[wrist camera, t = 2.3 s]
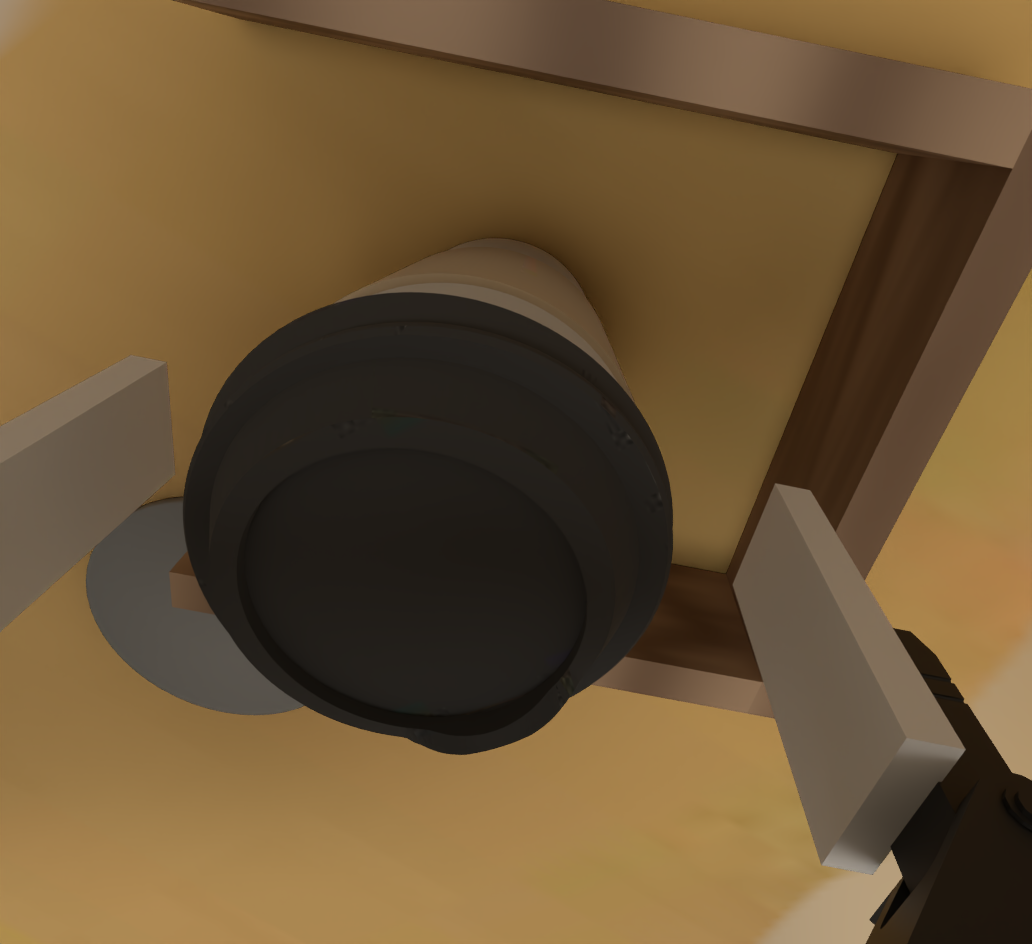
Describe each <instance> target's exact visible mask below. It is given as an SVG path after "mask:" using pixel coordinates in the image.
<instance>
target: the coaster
mask: <svg viewBox="0 0 1032 944" xmlns="http://www.w3.org/2000/svg"><path fill="white" fill-rule="evenodd" d="M183 498H184V497H176V498H167V499H163V500H159V501H155V502H151V503H149V504H146V505H144V506H141V507H139V508H137V509H136V510H135V511H134V512H133V513H132V514H131V515H130V516H129V517H127V518H126V519H125V520H124V521H123V522H122V523H121V524H120V525H119V526H117V527H116V528H115V529H114V530H113V531H112V532H111V533H110V534H109V535H107V536H106V537H105V538H104V539H103V540H102V541H101V542H100V543H98V544H97V545H96V546H95V548H94V550H93V552H92V554H91V556H90V560H89V563H88V567H87V575H86V588H87V597H88V601H89V605H90V609H91V611H92V614H93V616H94V619H95V621H96V623H97V625H98V627H99V629H100V630H101V632H102V634H103V636H104V637H105V638H106V640H107V641H108V643H109V644H110V645H111V647H112V648H113V649H114V650H115V651H116V652H117V654H118V655H119V656H120V657H121V658H122V659H123V660H124V661H125V662H126V663H127V664H128V665H129V666H130V667H132V668H133V669H134V670H135V671H136V672H137V673H139V674H140V675H141V676H143V677H144V678H145V679H147V680H148V681H150V682H151V683H153V684H154V685H156V686H157V687H159V688H161V689H162V690H164V691H166V692H168V693H170V694H172V695H174V696H176V697H178V698H180V699H183V700H185V701H187V702H190V703H192V704H195V705H198V706H202V707H205V708H208V709H212V710H216V711H221V712H226V713H233V714H241V715H268V714H276V713H282V712H287V711H290V710H294V709H298V708H300V707H303V706H305V705H303V704H301V703H299V702H298V701H296V700H295V699H293V698H291V697H290V696H288V695H287V694H285V693H284V692H283V691H281V690H280V689H279V688H277V687H276V686H275V685H274V684H272V683H271V682H270V681H269V680H268V679H266V678H265V677H264V676H263V675H262V674H261V673H260V672H259V671H258V670H257V669H256V668H255V667H254V666H253V665H252V664H251V663H250V662H249V661H248V659H247V658H246V657H245V656H244V654H243V653H242V652H241V651H240V650H239V648H238V647H237V645H236V644H235V642H234V641H233V639H232V638H231V636H230V634H229V633H228V632H227V631H226V629H225V628H224V627H223V625H222V624H221V623H220V621H219V620H218V619H217V617H216V615H213V614H208V613H202V612H197V611H192V610H186V609H181V608H175V607H172V599H171V588H170V576H169V571H170V570H171V569H172V568H173V567H174V566H175V565H176V563H177V562H178V561H179V560H180V559H181V558H182V556H183V555H184V554H185V553H186V552H187V547H186V542H185V535H184V527H183Z"/></svg>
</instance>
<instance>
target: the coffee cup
mask: <svg viewBox="0 0 1032 944" xmlns="http://www.w3.org/2000/svg"><path fill="white" fill-rule="evenodd" d="M183 527H184V535H185V542H186V547H187V551H188V555H189V559H190V562H191V565H192V568H193V571H194V574H195V576H196V579H197V581H198V584H199V586H200V589H201V591H202V593H203V595H204V597H205V599H206V600H207V602H208V604H209V606H210V608H211V609H212V611H213V612H214V614H215V615H216V617H217V619H218V620H219V621H220V623H221V624H222V625H223V627H224V628H225V629H226V631H227V632H228V633H229V634H230V636H231V638H232V639H233V641H234V642H235V644H236V645H237V647H238V648H239V650H240V651H241V652H242V653H243V654H244V656H245V657H246V658H247V659H248V661H249V662H250V663H251V664H252V665H253V666H254V667H255V668H256V669H257V670H258V671H259V672H260V673H261V674H262V675H263V676H264V677H265V678H266V679H268V680H269V681H270V682H271V683H272V684H274V685H275V686H276V687H277V688H279V689H280V690H281V691H283V692H284V693H285V694H287V695H288V696H290V697H291V698H293V699H295V700H296V701H298V702H299V703H301V704H303V705H305V706H306V707H308V708H310V709H312V710H314V711H316V712H318V713H320V714H322V715H324V716H326V717H329V718H331V719H334V720H336V721H339V722H341V723H344V724H347V725H350V726H353V727H357V728H360V729H363V730H367V731H372V732H376V733H381V734H386V735H392V736H399V737H404V738H408V739H410V740H411V741H413V742H415V743H418V744H421V745H423V746H425V747H427V748H429V749H432V750H434V751H437V752H441V753H446V754H456V755H467V754H473V753H478V752H483V751H487V750H491V749H495V748H498V747H502V746H505V745H508V744H510V743H513V742H516V741H518V740H521V739H523V738H525V737H527V736H530V735H532V734H533V733H535V732H536V731H538V730H539V729H541V728H542V727H543V726H544V725H546V724H547V723H548V722H549V721H550V720H551V719H552V718H553V717H554V716H555V715H556V714H557V713H558V712H559V711H560V709H561V708H562V707H563V705H564V704H565V703H566V701H567V700H568V698H570V697H572V696H574V695H575V694H577V693H579V692H581V691H582V690H584V689H585V688H587V687H589V686H590V685H592V684H593V683H594V682H596V681H597V680H599V679H600V678H601V677H603V676H604V675H605V674H606V673H608V672H609V671H610V670H611V669H612V668H613V667H615V666H616V665H617V664H618V663H619V662H620V661H621V660H622V659H623V658H624V657H625V656H626V655H627V654H628V653H629V651H630V650H631V649H632V648H633V647H634V646H635V644H636V643H637V642H638V641H639V639H640V638H641V636H642V635H643V634H644V632H645V631H646V629H647V628H648V626H649V624H650V623H651V621H652V619H653V617H654V615H655V613H656V611H657V609H658V607H659V605H660V602H661V600H662V597H663V594H664V592H665V588H666V585H667V581H668V578H669V573H670V568H671V561H672V550H673V530H672V527H673V509H672V497H671V490H670V484H669V479H668V475H667V471H666V467H665V464H664V461H663V458H662V455H661V452H660V450H659V447H658V445H657V442H656V440H655V438H654V436H653V434H652V432H651V430H650V428H649V426H648V424H647V422H646V421H645V419H644V417H643V416H642V414H641V412H640V411H639V409H638V408H637V406H636V405H635V402H634V399H633V397H632V394H631V392H630V390H629V387H628V385H627V383H626V380H625V378H624V376H623V373H622V371H621V369H620V366H619V364H618V361H617V359H616V357H615V354H614V352H613V350H612V347H611V345H610V343H609V340H608V338H607V336H606V333H605V331H604V328H603V326H602V324H601V322H600V320H599V318H598V316H597V314H596V312H595V310H594V309H593V307H592V306H591V304H590V303H589V301H588V300H587V299H586V297H585V295H584V292H583V291H582V289H581V287H580V285H579V284H578V282H577V281H576V279H575V278H574V276H573V275H572V274H571V273H570V272H569V271H568V269H567V268H566V267H565V266H564V265H563V264H561V263H560V262H559V261H558V260H557V259H555V258H554V257H553V256H551V255H550V254H548V253H547V252H545V251H543V250H541V249H539V248H537V247H535V246H533V245H530V244H527V243H524V242H521V241H516V240H511V239H503V238H488V239H479V240H474V241H470V242H466V243H463V244H460V245H458V246H455V247H453V248H451V249H449V250H447V251H444V252H440V253H437V254H434V255H432V256H429V257H427V258H424V259H422V260H420V261H418V262H416V263H414V264H412V265H410V266H408V267H405V268H403V269H401V270H399V271H397V272H395V273H393V274H391V275H389V276H386V277H384V278H382V279H380V280H378V281H376V282H374V283H372V284H370V285H368V286H365V287H363V288H361V289H359V290H357V291H355V292H353V293H351V294H349V295H347V296H345V297H343V298H341V299H340V300H338V301H336V302H335V303H333V304H331V305H328V306H326V307H323V308H320V309H318V310H315V311H313V312H310V313H308V314H306V315H304V316H302V317H300V318H298V319H296V320H294V321H292V322H291V323H289V324H287V325H286V326H284V327H282V328H281V329H279V330H277V331H276V332H275V333H273V334H272V335H271V336H269V337H268V338H266V339H265V340H264V341H262V342H261V343H260V344H259V345H258V346H257V347H256V348H255V349H253V350H252V351H251V352H250V353H249V354H248V355H247V356H246V357H245V358H244V359H243V361H242V362H241V363H240V364H239V365H238V366H237V367H236V368H235V370H234V371H233V372H232V374H231V375H230V376H229V378H228V379H227V380H226V382H225V384H224V385H223V387H222V389H221V390H220V392H219V393H218V395H217V397H216V399H215V401H214V403H213V405H212V407H211V410H210V412H209V415H208V418H207V420H206V423H205V426H204V430H203V433H202V437H201V439H200V441H199V443H198V445H197V447H196V450H195V452H194V455H193V457H192V460H191V463H190V466H189V470H188V474H187V478H186V483H185V489H184V498H183Z"/></svg>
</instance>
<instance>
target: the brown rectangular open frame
mask: <svg viewBox="0 0 1032 944" xmlns="http://www.w3.org/2000/svg"><path fill="white" fill-rule="evenodd" d="M173 1H177V2H180V3H184V4H188V5H191V6H195V7H198V8H202V9H206V10H209V11H213V12H216V13H220V14H224V15H227V16H231V17H235V18H238V19H243V20H248V21H253V22H258V23H262V24H267V25H272V26H277V27H282V28H287V29H292V30H297V31H302V32H306V33H311V34H316V35H321V36H326V37H331V38H336V39H341V40H346V41H350V42H355V43H360V44H365V45H370V46H375V47H380V48H385V49H390V50H394V51H399V52H404V53H409V54H414V55H419V56H424V57H429V58H434V59H438V60H443V61H448V62H453V63H458V64H463V65H468V66H473V67H478V68H482V69H487V70H492V71H497V72H502V73H507V74H512V75H517V76H522V77H526V78H531V79H536V80H541V81H546V82H551V83H556V84H561V85H566V86H570V87H575V88H580V89H585V90H590V91H595V92H600V93H605V94H610V95H614V96H619V97H624V98H629V99H634V100H639V101H644V102H649V103H654V104H659V105H663V106H668V107H673V108H678V109H683V110H688V111H693V112H698V113H703V114H707V115H712V116H717V117H722V118H727V119H732V120H737V121H742V122H747V123H751V124H756V125H761V126H766V127H771V128H776V129H781V130H786V131H791V132H795V133H800V134H805V135H810V136H815V137H820V138H825V139H830V140H835V141H839V142H844V143H849V144H854V145H859V146H864V147H869V148H874V149H879V150H883V151H888V152H893V153H898V155H897V157H896V160H895V162H894V164H893V167H892V169H891V172H890V174H889V177H888V179H887V182H886V184H885V186H884V189H883V191H882V194H881V196H880V199H879V201H878V204H877V206H876V208H875V211H874V213H873V216H872V218H871V221H870V223H869V226H868V228H867V231H866V233H865V235H864V238H863V240H862V243H861V245H860V248H859V250H858V253H857V255H856V257H855V260H854V262H853V265H852V267H851V270H850V272H849V275H848V277H847V279H846V282H845V284H844V287H843V289H842V292H841V294H840V297H839V299H838V301H837V304H836V306H835V309H834V311H833V314H832V316H831V319H830V321H829V324H828V326H827V328H826V331H825V333H824V336H823V338H822V341H821V343H820V346H819V348H818V350H817V353H816V355H815V358H814V360H813V363H812V365H811V368H810V370H809V372H808V375H807V377H806V380H805V382H804V385H803V387H802V390H801V392H800V394H799V397H798V399H797V402H796V404H795V407H794V409H793V412H792V414H791V417H790V419H789V421H788V424H787V426H786V429H785V431H784V434H783V436H782V439H781V441H780V443H779V446H778V448H777V451H776V453H775V456H774V458H773V461H772V463H771V465H770V468H769V470H768V473H767V475H766V478H765V480H764V483H763V485H762V487H761V490H760V492H759V495H758V497H757V500H756V502H755V505H754V507H753V510H752V512H751V514H750V517H749V519H748V522H747V524H746V527H745V529H744V532H743V534H742V536H741V539H740V541H739V544H738V546H737V549H736V551H735V554H734V556H733V558H732V561H731V563H730V566H729V568H728V571H727V573H726V574H722V573H716V572H711V571H706V570H701V569H695V568H690V567H685V566H680V565H674V564H671V568H670V573H669V578H668V581H667V585H666V588H665V592H664V594H663V597H662V600H661V602H660V605H659V607H658V609H657V611H656V613H655V615H654V617H653V619H652V621H651V623H650V624H649V626H648V628H647V629H646V631H645V632H644V634H643V635H642V636H641V638H640V639H639V641H638V642H637V643H636V644H635V646H634V647H633V648H632V649H631V650H630V651H629V653H628V654H627V655H626V656H625V657H624V658H623V659H622V660H621V661H620V662H619V663H618V664H617V665H616V666H615V667H613V668H612V669H611V670H610V671H609V672H608V673H606V674H605V675H604V676H603V677H601V678H600V679H599V680H597V681H596V682H594V683H593V684H592V685H596V686H602V687H607V688H613V689H618V690H623V691H629V692H634V693H640V694H645V695H650V696H656V697H661V698H667V699H672V700H677V701H683V702H688V703H694V704H699V705H704V706H710V707H715V708H721V709H726V710H731V711H737V712H742V713H748V714H753V715H758V716H764V717H769V718H774V719H775V717H774V714H773V711H772V707H771V704H770V701H769V698H768V695H767V692H766V688H765V685H764V682H763V679H762V676H761V673H760V670H759V666H758V663H757V660H756V657H755V654H754V651H753V647H752V644H751V641H750V638H749V635H748V632H747V629H746V625H745V622H744V619H743V616H742V613H741V610H740V606H739V603H738V600H737V597H736V594H735V591H734V588H733V582H734V580H735V578H736V575H737V573H738V570H739V568H740V566H741V563H742V561H743V559H744V556H745V554H746V551H747V549H748V547H749V544H750V542H751V540H752V537H753V535H754V532H755V530H756V528H757V525H758V523H759V521H760V518H761V516H762V513H763V511H764V509H765V506H766V504H767V502H768V499H769V497H770V494H771V492H772V490H773V487H774V485H775V483H776V484H781V485H786V486H791V487H796V488H801V489H806V490H810V491H811V492H812V494H813V496H814V497H815V499H816V501H817V502H818V504H819V506H820V507H821V509H822V511H823V512H824V514H825V516H826V517H827V519H828V521H829V522H830V524H831V526H832V527H833V529H834V531H835V532H836V534H837V536H838V537H839V539H840V541H841V542H842V544H843V546H844V547H845V549H846V551H847V552H848V554H849V556H850V557H851V559H852V561H853V562H854V564H855V566H856V567H857V569H858V571H859V572H860V574H861V576H862V577H863V579H864V581H865V579H866V577H867V575H868V573H869V571H870V569H871V568H872V566H873V564H874V562H875V560H876V558H877V556H878V555H879V553H880V551H881V549H882V547H883V545H884V543H885V541H886V540H887V538H888V536H889V534H890V532H891V530H892V528H893V526H894V525H895V523H896V521H897V519H898V517H899V515H900V513H901V511H902V510H903V508H904V506H905V504H906V502H907V500H908V498H909V497H910V495H911V493H912V491H913V489H914V487H915V485H916V483H917V482H918V480H919V478H920V476H921V474H922V472H923V470H924V468H925V467H926V465H927V463H928V461H929V459H930V457H931V455H932V453H933V452H934V450H935V448H936V446H937V444H938V442H939V440H940V439H941V437H942V435H943V433H944V431H945V429H946V427H947V425H948V424H949V422H950V420H951V418H952V416H953V414H954V412H955V410H956V409H957V407H958V405H959V403H960V401H961V399H962V397H963V395H964V394H965V392H966V390H967V388H968V386H969V384H970V382H971V381H972V379H973V377H974V375H975V373H976V371H977V369H978V367H979V366H980V364H981V362H982V360H983V358H984V356H985V354H986V352H987V351H988V349H989V347H990V345H991V343H992V341H993V339H994V337H995V336H996V334H997V332H998V330H999V328H1000V326H1001V324H1002V323H1003V321H1004V319H1005V317H1006V315H1007V313H1008V311H1009V309H1010V308H1011V306H1012V304H1013V302H1014V300H1015V298H1016V296H1017V294H1018V293H1019V291H1020V289H1021V287H1022V285H1023V283H1024V281H1025V279H1026V278H1027V276H1028V274H1029V272H1030V270H1031V268H1032V89H1030V88H1025V87H1021V86H1016V85H1011V84H1006V83H1001V82H997V81H992V80H987V79H982V78H977V77H972V76H968V75H963V74H958V73H953V72H948V71H944V70H939V69H934V68H929V67H924V66H919V65H915V64H910V63H905V62H900V61H895V60H891V59H886V58H881V57H876V56H871V55H866V54H862V53H857V52H852V51H847V50H842V49H838V48H833V47H828V46H823V45H818V44H813V43H809V42H804V41H799V40H794V39H789V38H785V37H780V36H775V35H770V34H765V33H760V32H756V31H751V30H746V29H741V28H736V27H732V26H727V25H722V24H717V23H712V22H707V21H703V20H698V19H693V18H688V17H683V16H679V15H674V14H669V13H664V12H659V11H654V10H650V9H645V8H640V7H635V6H630V5H626V4H621V3H616V2H611V1H606V0H173ZM169 576H170V588H171V599H172V607H175V608H181V609H186V610H192V611H197V612H202V613H208V614H213V615H215V614H214V612H213V611H212V609H211V608H210V606H209V604H208V602H207V600H206V599H205V597H204V595H203V593H202V591H201V589H200V586H199V584H198V581H197V579H196V576H195V574H194V571H193V568H192V565H191V562H190V559H189V555H188V551H187V552H186V553H185V554H184V555H183V556H182V558H181V559H180V560H179V561H178V562H177V563H176V565H175V566H174V567H173V568H172V569H171V570H170V571H169Z"/></svg>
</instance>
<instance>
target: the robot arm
mask: <svg viewBox="0 0 1032 944" xmlns="http://www.w3.org/2000/svg"><path fill="white" fill-rule="evenodd" d="M174 475H175V463H174V450H173V437H172V424H171V411H170V398H169V385H168V372H167V362H164V361H159V360H154V359H149V358H144V357H139V356H133V355H130V356H128V357H126V358H125V359H123V360H121V361H119V362H117V363H115V364H114V365H112V366H110V367H108V368H106V369H104V370H103V371H101V372H99V373H97V374H95V375H93V376H92V377H90V378H88V379H86V380H84V381H82V382H81V383H79V384H77V385H75V386H73V387H71V388H70V389H68V390H66V391H64V392H62V393H60V394H59V395H57V396H55V397H53V398H51V399H49V400H48V401H46V402H44V403H42V404H40V405H38V406H37V407H35V408H33V409H31V410H29V411H27V412H26V413H24V414H22V415H20V416H18V417H16V418H15V419H13V420H11V421H9V422H7V423H5V424H4V425H2V426H0V632H1V631H2V630H3V629H4V628H5V627H6V626H7V625H8V624H10V623H11V622H12V621H13V620H14V619H15V618H16V617H17V616H18V615H20V614H21V613H22V612H23V611H24V610H25V609H26V608H27V607H28V606H30V605H31V604H32V603H33V602H34V601H35V600H36V599H37V598H38V597H40V596H41V595H42V594H43V593H44V592H45V591H46V590H47V589H48V588H50V587H51V586H52V585H53V584H54V583H55V582H56V581H57V580H58V579H60V578H61V577H62V576H63V575H64V574H65V573H66V572H67V571H68V570H70V569H71V568H72V567H73V566H74V565H75V564H76V563H77V562H78V561H80V560H81V559H82V558H83V557H84V556H85V555H86V554H87V553H88V552H90V551H91V550H92V549H93V548H94V547H95V546H96V545H97V544H98V543H100V542H101V541H102V540H103V539H104V538H105V537H106V536H107V535H109V534H110V533H111V532H112V531H113V530H114V529H115V528H116V527H117V526H119V525H120V524H121V523H122V522H123V521H124V520H125V519H126V518H127V517H129V516H130V515H131V514H132V513H133V512H134V511H135V510H136V509H137V508H139V507H140V506H141V505H142V504H143V503H144V502H145V501H146V500H147V499H149V498H150V497H151V496H152V495H153V494H154V493H155V492H156V491H157V490H159V489H160V488H161V487H162V486H163V485H164V484H165V483H166V482H167V481H169V480H170V479H171V478H172V477H173V476H174ZM733 588H734V591H735V594H736V597H737V600H738V603H739V606H740V610H741V613H742V616H743V619H744V622H745V625H746V629H747V632H748V635H749V638H750V641H751V644H752V647H753V651H754V654H755V657H756V660H757V663H758V666H759V670H760V673H761V676H762V679H763V682H764V685H765V688H766V692H767V695H768V698H769V701H770V704H771V707H772V711H773V714H774V717H775V720H776V723H777V726H778V729H779V733H780V736H781V739H782V742H783V745H784V748H785V752H786V755H787V758H788V761H789V764H790V767H791V770H792V774H793V777H794V780H795V783H796V786H797V789H798V793H799V796H800V799H801V802H802V805H803V808H804V812H805V815H806V818H807V821H808V824H809V827H810V830H811V834H812V837H813V840H814V843H815V846H816V849H817V853H818V856H819V859H820V862H821V865H824V866H829V867H834V868H839V869H845V870H850V871H855V872H860V873H865V874H870V875H873V874H874V872H875V871H876V870H877V868H878V867H879V866H880V864H881V863H882V862H883V860H884V859H885V858H886V856H887V855H888V854H889V852H890V851H891V850H892V852H893V854H894V856H895V859H896V861H897V864H898V866H899V868H900V871H901V873H902V876H903V877H902V879H901V880H900V881H899V883H898V884H897V885H896V887H895V888H894V889H893V890H892V891H891V893H890V894H889V895H888V897H887V898H886V899H885V900H884V902H883V903H882V904H881V905H880V907H879V908H878V909H877V911H876V912H875V913H874V915H873V916H872V917H871V918H870V921H871V922H872V923H873V924H875V926H874V928H873V930H872V932H871V934H870V936H869V938H868V940H867V943H866V944H1032V781H1031V780H1030V779H1028V778H1026V777H1024V776H1022V775H1018V774H1014V773H1012V772H1011V771H1010V769H1009V767H1008V766H1007V764H1006V763H1005V761H1004V760H1003V758H1002V757H1001V755H1000V754H999V752H998V750H997V749H996V747H995V746H994V744H993V743H992V741H991V740H990V738H989V737H988V735H987V733H986V732H985V730H984V729H983V727H982V726H981V724H980V723H979V721H978V719H977V718H976V716H975V715H974V713H973V712H972V710H971V709H970V707H969V706H968V704H965V703H964V698H963V696H962V695H961V693H960V692H959V690H958V689H957V687H956V686H955V684H953V683H951V678H950V676H949V675H948V673H947V672H946V670H945V669H944V667H943V665H942V664H941V662H940V661H939V659H938V658H937V656H936V655H935V654H934V653H933V652H932V651H931V650H930V649H929V648H928V647H927V646H926V645H924V644H923V643H922V642H921V641H920V640H919V639H918V638H917V637H916V636H915V635H914V634H913V633H911V632H910V631H905V630H900V629H895V628H893V627H892V626H891V624H890V622H889V621H888V619H887V617H886V616H885V614H884V612H883V611H882V609H881V607H880V606H879V604H878V602H877V601H876V599H875V597H874V596H873V594H872V592H871V591H870V589H869V587H868V586H867V584H866V582H865V581H864V579H863V577H862V576H861V574H860V572H859V571H858V569H857V567H856V566H855V564H854V562H853V561H852V559H851V557H850V556H849V554H848V552H847V551H846V549H845V547H844V546H843V544H842V542H841V541H840V539H839V537H838V536H837V534H836V532H835V531H834V529H833V527H832V526H831V524H830V522H829V521H828V519H827V517H826V516H825V514H824V512H823V511H822V509H821V507H820V506H819V504H818V502H817V501H816V499H815V497H814V496H813V494H812V492H811V491H810V490H806V489H801V488H796V487H791V486H786V485H781V484H776V483H775V485H774V487H773V490H772V492H771V494H770V497H769V499H768V502H767V504H766V506H765V509H764V511H763V513H762V516H761V518H760V521H759V523H758V525H757V528H756V530H755V532H754V535H753V537H752V540H751V542H750V544H749V547H748V549H747V551H746V554H745V556H744V559H743V561H742V563H741V566H740V568H739V570H738V573H737V575H736V578H735V580H734V582H733Z"/></svg>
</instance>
